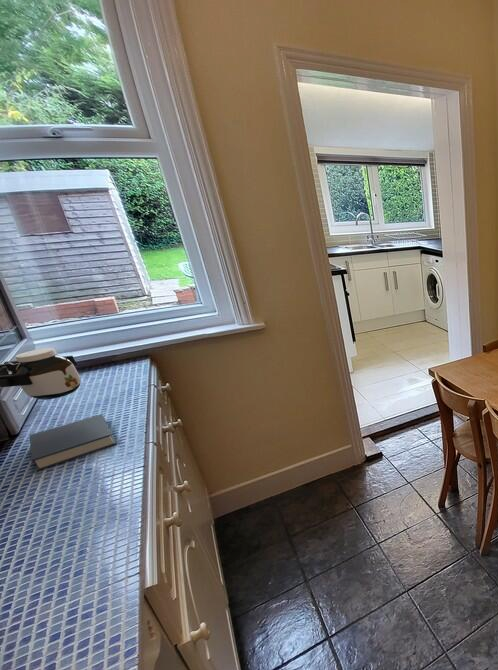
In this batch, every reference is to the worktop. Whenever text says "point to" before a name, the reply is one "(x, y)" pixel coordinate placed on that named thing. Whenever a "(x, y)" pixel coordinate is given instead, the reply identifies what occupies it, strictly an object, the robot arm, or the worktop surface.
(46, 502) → the worktop surface
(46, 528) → the worktop surface
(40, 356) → the spread jar
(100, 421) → the book
